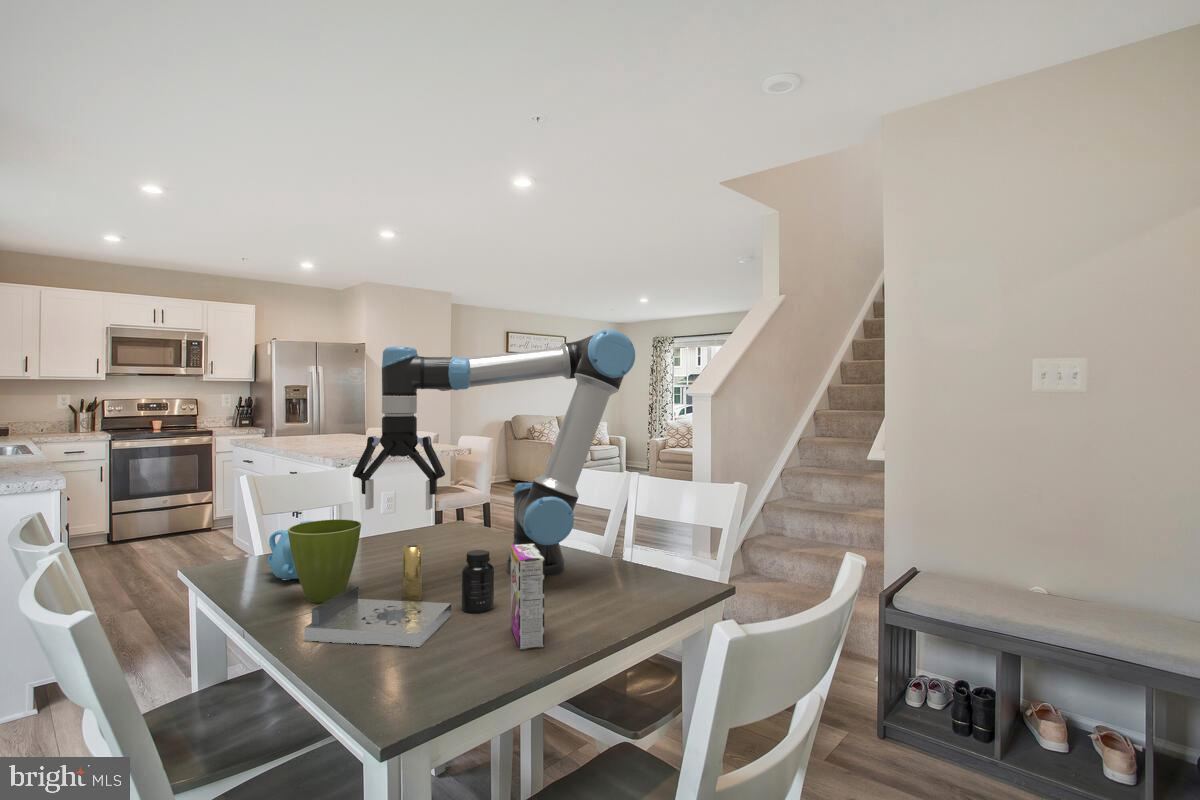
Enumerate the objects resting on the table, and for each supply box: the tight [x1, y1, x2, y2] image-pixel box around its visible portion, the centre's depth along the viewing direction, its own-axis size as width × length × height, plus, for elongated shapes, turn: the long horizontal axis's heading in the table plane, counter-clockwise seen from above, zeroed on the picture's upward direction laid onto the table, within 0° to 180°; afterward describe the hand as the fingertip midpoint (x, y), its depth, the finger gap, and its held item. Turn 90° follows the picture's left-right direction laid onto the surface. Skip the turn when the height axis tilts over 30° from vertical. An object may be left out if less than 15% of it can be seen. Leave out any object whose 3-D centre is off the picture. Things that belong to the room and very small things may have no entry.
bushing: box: [402, 543, 423, 602], centre depth 131 cm, size 4×4×12 cm
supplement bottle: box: [461, 549, 495, 614], centre depth 126 cm, size 7×7×12 cm
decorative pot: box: [267, 520, 313, 580], centre depth 149 cm, size 16×16×14 cm
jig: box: [303, 585, 452, 648], centre depth 115 cm, size 22×16×6 cm
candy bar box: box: [510, 544, 545, 651], centre depth 111 cm, size 11×5×16 cm, turn 17°
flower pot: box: [287, 519, 362, 603], centre depth 132 cm, size 15×15×16 cm
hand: (399, 508), depth 134 cm, fingers open, 13 cm apart
